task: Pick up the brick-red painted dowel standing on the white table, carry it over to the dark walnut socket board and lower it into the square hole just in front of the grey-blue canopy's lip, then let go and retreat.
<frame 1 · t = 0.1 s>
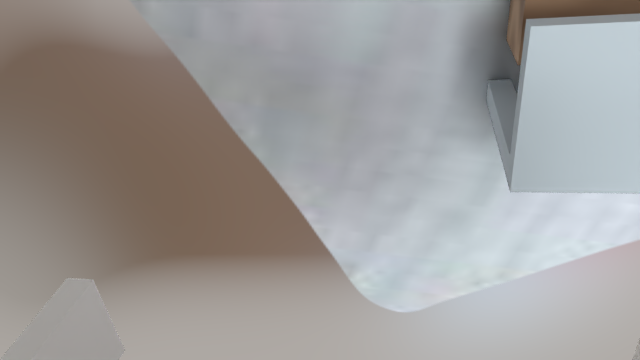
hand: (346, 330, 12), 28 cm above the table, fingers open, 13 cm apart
awning: (600, 35, 34), on the table
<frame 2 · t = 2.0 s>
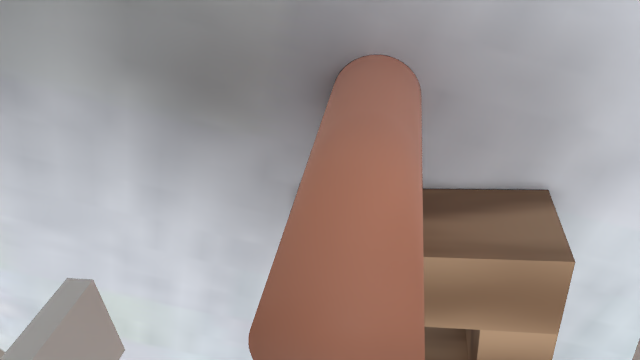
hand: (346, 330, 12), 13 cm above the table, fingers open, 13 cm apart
socket block: (418, 313, 30), on the table
dowel: (376, 97, 23), on the table
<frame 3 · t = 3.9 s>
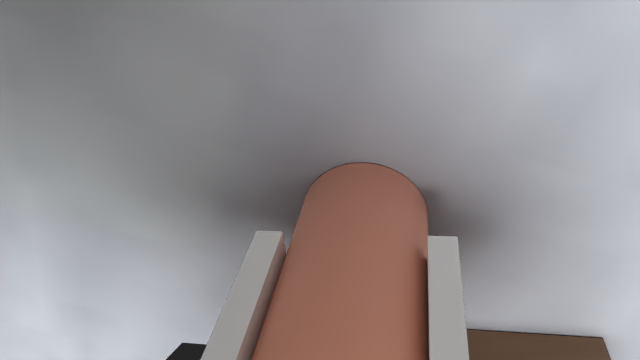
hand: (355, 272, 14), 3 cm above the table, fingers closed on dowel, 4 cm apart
dowel: (364, 216, 16), on the table, touching gripper
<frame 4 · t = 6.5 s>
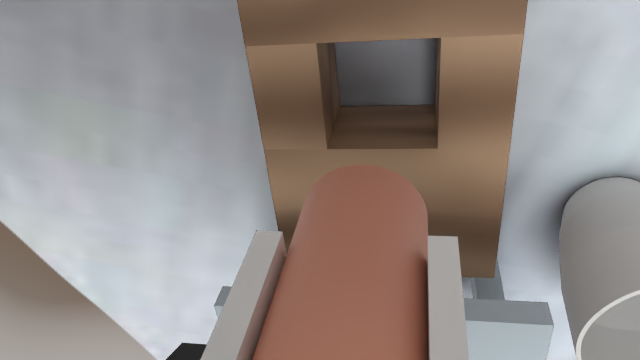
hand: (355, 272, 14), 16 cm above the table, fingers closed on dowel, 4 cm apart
cup: (606, 210, 31), on the table
socket block: (386, 94, 28), on the table
dowel: (364, 217, 16), point 14 cm above the table, touching gripper
awning: (389, 220, 33), on the table
when the fingers open (6 cm above the table, at t = 8.9 s): dowel drops 2 cm, resting in socket block.
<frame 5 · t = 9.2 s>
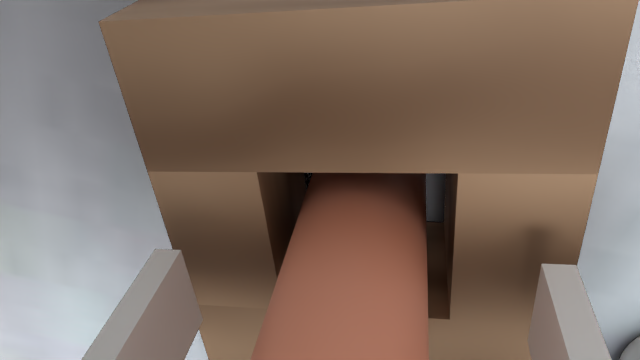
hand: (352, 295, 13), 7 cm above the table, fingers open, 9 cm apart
socket block: (374, 206, 20), on the table
dowel: (371, 163, 19), resting in socket block
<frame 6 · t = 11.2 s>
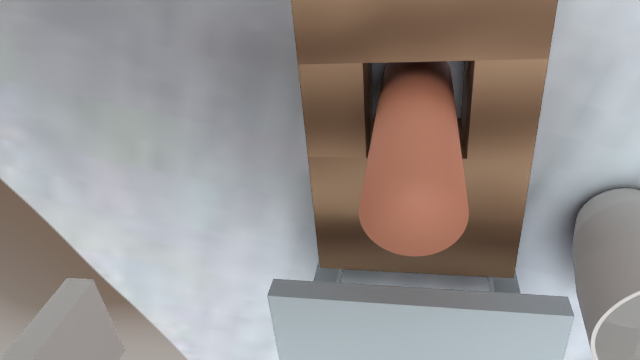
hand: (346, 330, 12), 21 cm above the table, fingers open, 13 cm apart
cup: (615, 218, 33), on the table
socket block: (416, 108, 31), on the table
dowel: (416, 78, 30), resting in socket block
awning: (414, 225, 36), on the table
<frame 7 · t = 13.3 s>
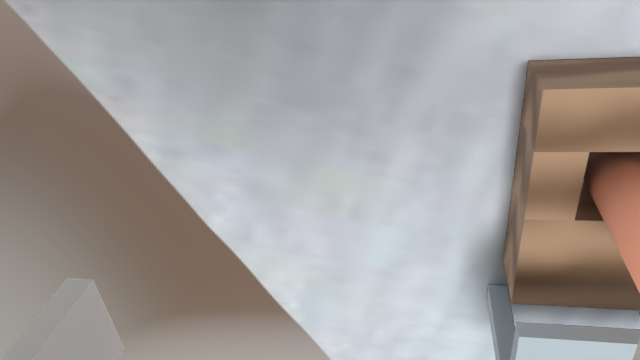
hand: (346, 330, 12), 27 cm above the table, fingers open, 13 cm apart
socket block: (598, 173, 38), on the table
dowel: (602, 150, 37), resting in socket block
awning: (577, 263, 43), on the table
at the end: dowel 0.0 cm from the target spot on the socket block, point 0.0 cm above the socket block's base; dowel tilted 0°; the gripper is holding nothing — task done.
